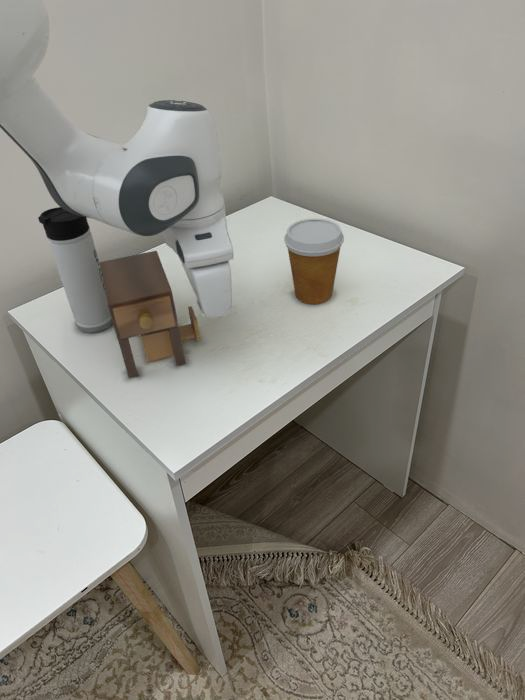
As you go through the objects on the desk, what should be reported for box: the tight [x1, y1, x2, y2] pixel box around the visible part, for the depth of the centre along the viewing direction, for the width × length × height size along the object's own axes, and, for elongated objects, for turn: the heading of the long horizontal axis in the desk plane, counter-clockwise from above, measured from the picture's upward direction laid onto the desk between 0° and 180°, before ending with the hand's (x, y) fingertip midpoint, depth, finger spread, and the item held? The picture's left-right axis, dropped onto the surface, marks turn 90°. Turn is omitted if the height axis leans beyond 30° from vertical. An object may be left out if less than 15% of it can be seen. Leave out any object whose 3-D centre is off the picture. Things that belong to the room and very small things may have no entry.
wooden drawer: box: [140, 305, 201, 363], centre depth 84 cm, size 9×7×5 cm
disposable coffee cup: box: [283, 218, 345, 305], centre depth 90 cm, size 10×10×12 cm
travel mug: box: [37, 206, 113, 334], centre depth 84 cm, size 6×7×20 cm
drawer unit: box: [99, 250, 187, 379], centre depth 80 cm, size 8×14×13 cm, turn 18°
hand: (205, 308), depth 84 cm, fingers closed
